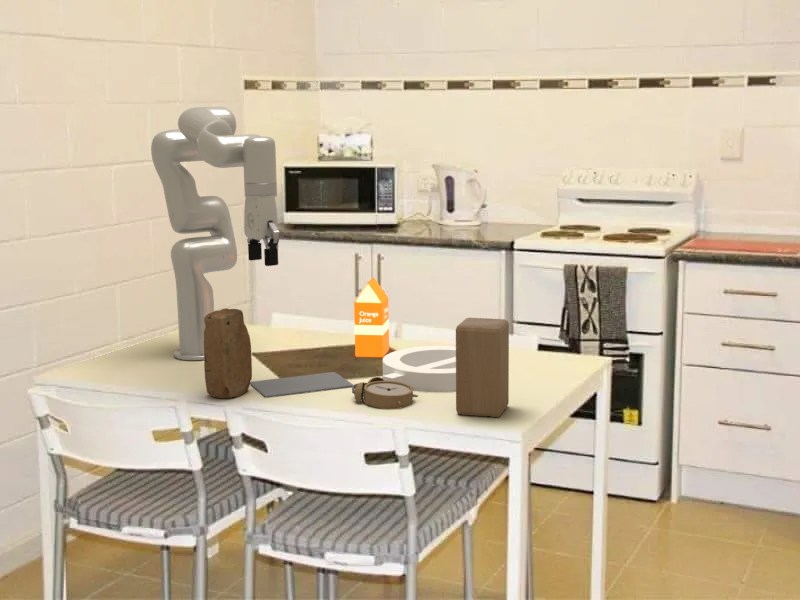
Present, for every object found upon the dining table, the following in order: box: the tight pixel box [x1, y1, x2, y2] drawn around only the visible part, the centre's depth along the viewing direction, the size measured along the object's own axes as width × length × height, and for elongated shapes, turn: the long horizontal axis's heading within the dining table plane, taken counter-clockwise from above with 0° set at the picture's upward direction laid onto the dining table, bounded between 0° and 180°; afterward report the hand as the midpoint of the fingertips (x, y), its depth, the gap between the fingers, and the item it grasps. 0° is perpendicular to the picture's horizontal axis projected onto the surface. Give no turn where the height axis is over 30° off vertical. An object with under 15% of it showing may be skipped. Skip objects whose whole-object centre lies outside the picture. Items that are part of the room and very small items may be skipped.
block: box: [203, 308, 253, 399], centre depth 270 cm, size 11×8×20 cm
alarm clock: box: [351, 376, 419, 410], centre depth 264 cm, size 11×5×15 cm
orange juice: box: [353, 276, 390, 358], centre depth 307 cm, size 8×9×20 cm
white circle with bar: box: [381, 345, 456, 393], centre depth 284 cm, size 28×28×5 cm
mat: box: [250, 371, 354, 398], centre depth 278 cm, size 14×22×1 cm, turn 113°
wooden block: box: [455, 317, 510, 418], centre depth 253 cm, size 10×10×20 cm
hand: (263, 262), depth 273 cm, fingers open, 9 cm apart
